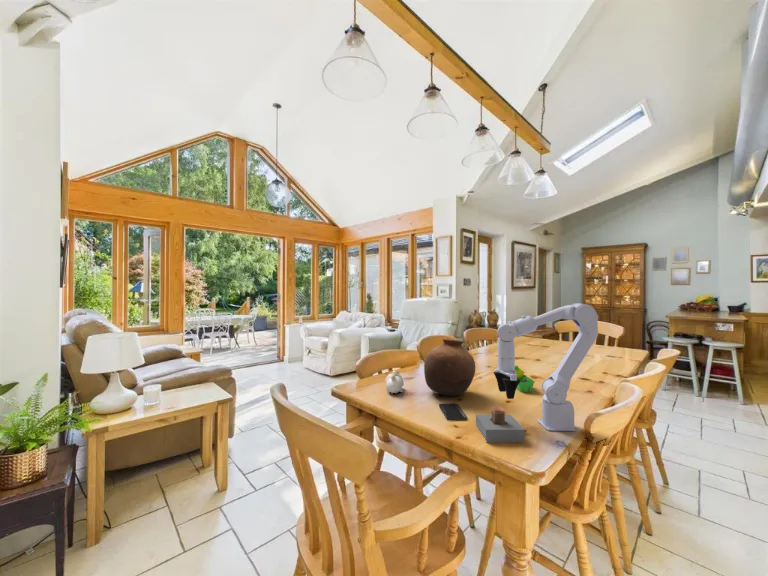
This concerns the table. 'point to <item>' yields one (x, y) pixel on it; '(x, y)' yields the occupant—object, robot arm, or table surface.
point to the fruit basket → (523, 381)
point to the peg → (498, 416)
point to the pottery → (449, 368)
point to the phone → (452, 411)
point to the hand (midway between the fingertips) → (506, 394)
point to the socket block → (500, 429)
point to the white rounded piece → (394, 382)
